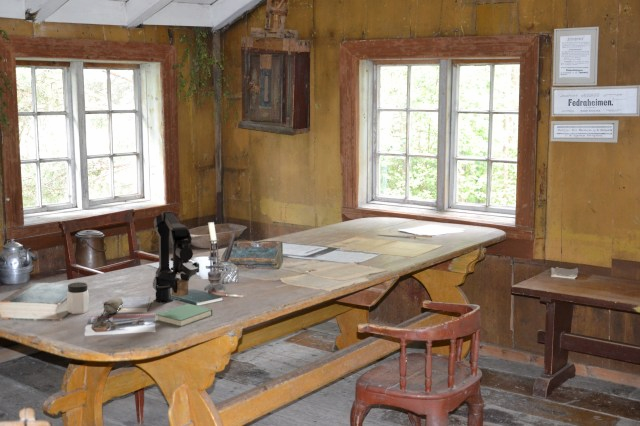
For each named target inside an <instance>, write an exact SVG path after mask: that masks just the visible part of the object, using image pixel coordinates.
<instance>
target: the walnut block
mask: <svg viewBox="0 0 640 426" xmlns="http://www.w3.org/2000/svg"><path fill="white" fill-rule="evenodd" d="M188 295H189V281H187V280H182V279H181V278H180V279H179V280H178V281H177V293H174V291H173V289H172V287H171V296H174V297H179V298H180V297H184V296H188Z"/></svg>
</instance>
